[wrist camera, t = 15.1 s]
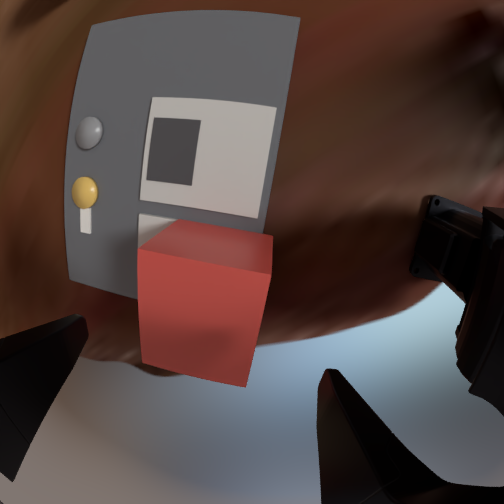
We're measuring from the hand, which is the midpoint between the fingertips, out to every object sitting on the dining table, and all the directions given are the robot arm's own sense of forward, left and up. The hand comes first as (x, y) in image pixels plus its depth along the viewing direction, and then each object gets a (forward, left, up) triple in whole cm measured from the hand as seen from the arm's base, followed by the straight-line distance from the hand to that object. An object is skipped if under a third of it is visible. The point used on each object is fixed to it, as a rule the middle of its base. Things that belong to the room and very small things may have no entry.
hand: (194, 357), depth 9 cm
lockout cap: (+1, +2, -10) cm, 10 cm away
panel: (+7, -6, -12) cm, 15 cm away
